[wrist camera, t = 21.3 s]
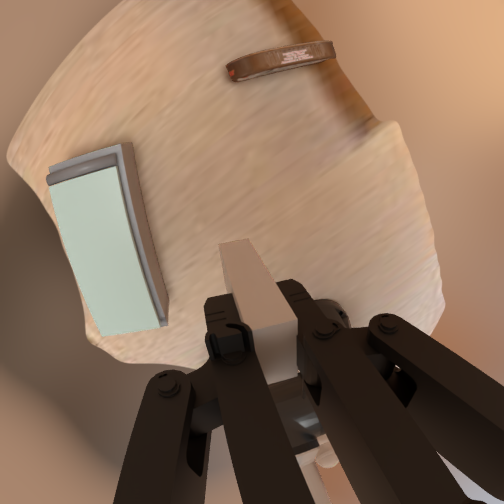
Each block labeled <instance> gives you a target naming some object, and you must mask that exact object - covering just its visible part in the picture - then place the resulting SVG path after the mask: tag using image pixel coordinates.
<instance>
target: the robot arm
mask: <svg viewBox="0 0 504 504" xmlns="http://www.w3.org/2000/svg"><path fill="white" fill-rule="evenodd" d="M219 250H220V255H221V261H222V267H223V272H224V278H225V284H226V289H227V293H228V294H224V295H220V296H215V297H210V298H207V300H206V303H205V305H204V312H205V318H206V325H207V331H208V332H207V333H206V335H205V343H206V347H207V350H208V353H209V356H210V357H209V359H208V360H207V362H206V363H205V364H204V365H203V366H202V367H200V368H199V369H197V370H195V371H193V372H191V373H189V374H187V375H186V374H185V373H183V372H181V371H177V370H166V371H163V372H160V373H158V374H156V375H155V376H154V377H153V378H151V379H150V381H149V383H148V384H147V387H146V390H145V393H144V396H143V399H142V402H141V405H140V409H139V411H138V415H137V418H136V421H135V424H134V428H133V431H132V434H131V438H130V441H129V445H128V448H127V452H126V455H125V459H124V462H123V466H122V470H121V474H120V477H119V481H118V486H117V490H116V494H115V497H114V502H113V504H204V500H205V491H206V479H207V470H208V461H209V451H210V442H211V433H212V430H213V429H215V428H217V427H219V426H221V425H224V430H225V434H226V439H227V444H228V447H229V452H230V455H231V460H232V464H233V468H234V472H235V476H236V479H237V483H238V487H239V490H240V494H241V498H242V502H243V504H332V503H331V500H330V498H329V495H328V493H327V490H326V488H325V485H324V483H323V480H322V478H321V475H320V473H319V470H318V468H317V465H316V462H315V457H316V455H317V453H318V451H319V449H320V445H319V443H318V440H317V437H319V436H321V435H324V434H326V435H327V438H328V440H329V442H330V444H331V446H332V448H333V450H334V452H335V454H336V456H337V458H338V460H339V462H340V464H341V466H342V468H343V470H344V471H345V474H346V476H347V478H348V480H349V481H350V484H351V486H352V488H353V490H354V491H355V494H356V495H357V497H358V499H359V501H360V503H361V504H487V503H485V502H483V501H477V500H472V499H470V498H468V497H467V496H466V495H465V494H464V492H463V490H462V489H461V487H460V486H459V484H458V483H457V481H456V480H455V478H454V477H453V475H452V474H451V472H450V471H449V469H448V468H447V466H446V465H445V463H444V462H443V461H442V459H441V458H440V456H439V455H438V454H437V452H438V453H439V454H440V455H441V456H443V457H444V458H445V459H446V460H448V461H449V462H450V463H451V464H452V465H454V466H455V467H456V468H457V469H459V470H460V471H461V472H462V473H464V474H465V475H466V476H467V477H468V478H470V479H471V480H472V481H473V482H475V483H476V484H477V485H479V486H480V487H481V488H482V489H484V490H485V491H486V492H488V493H489V494H491V495H492V496H494V497H495V498H497V499H499V500H502V501H504V386H502V385H501V384H499V383H498V382H497V381H495V380H494V379H492V378H491V377H489V376H488V375H486V374H485V373H484V372H482V371H481V370H479V369H478V368H476V367H475V366H473V365H472V364H470V363H469V362H467V361H466V360H464V359H463V358H462V357H460V356H459V355H457V354H456V353H454V352H453V351H451V350H450V349H448V348H446V347H445V346H444V345H442V344H440V343H439V342H437V341H436V340H434V339H433V338H431V337H430V336H428V335H427V334H425V333H424V332H422V331H421V330H419V329H418V328H416V327H415V326H413V325H411V324H410V323H408V322H407V321H405V320H404V319H402V318H401V317H399V316H396V315H394V314H388V313H384V314H378V315H376V316H374V317H373V318H372V319H371V320H370V322H369V326H368V327H361V328H351V325H350V322H349V318H348V316H347V314H346V312H345V311H344V310H343V309H342V307H341V306H340V305H339V304H337V303H336V302H334V301H331V300H316V301H314V300H313V299H312V298H311V296H310V295H309V293H308V292H307V291H306V289H305V288H304V287H303V285H302V284H301V283H299V282H297V281H295V280H293V279H289V280H285V281H280V282H276V283H275V281H274V279H273V278H272V276H271V274H270V273H269V271H268V270H267V268H266V266H265V265H264V263H263V261H262V260H261V258H260V256H259V255H258V253H257V252H256V250H255V248H254V247H253V245H252V243H251V242H250V240H249V239H243V240H238V241H233V242H228V243H223V244H219ZM395 365H397V366H398V367H399V368H397V367H396V366H395ZM298 370H299V371H300V372H299V373H298ZM436 451H437V452H436Z"/></svg>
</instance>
